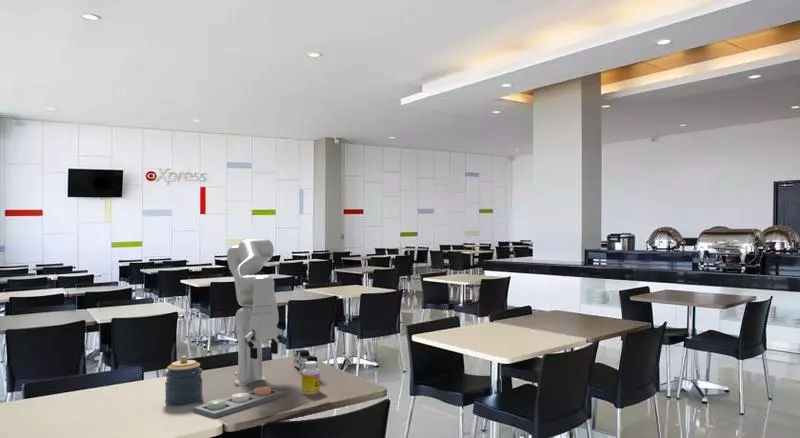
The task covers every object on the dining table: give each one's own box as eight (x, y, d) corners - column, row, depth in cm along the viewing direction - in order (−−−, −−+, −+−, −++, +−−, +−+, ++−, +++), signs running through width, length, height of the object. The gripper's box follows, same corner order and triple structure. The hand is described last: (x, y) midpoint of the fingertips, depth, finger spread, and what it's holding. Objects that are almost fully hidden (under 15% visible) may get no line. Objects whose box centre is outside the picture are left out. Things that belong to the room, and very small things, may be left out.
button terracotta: (251, 397, 207) (251, 389, 207) (264, 393, 212) (263, 385, 212) (261, 400, 204) (261, 391, 204) (274, 396, 209) (274, 388, 209)
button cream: (228, 404, 199) (228, 395, 199) (242, 400, 204) (242, 391, 204) (238, 407, 196) (238, 398, 196) (252, 402, 201) (252, 394, 201)
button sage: (203, 411, 191) (203, 402, 191) (218, 407, 196) (218, 398, 196) (214, 414, 188) (214, 405, 188) (229, 410, 193) (229, 401, 193)
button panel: (214, 422, 184) (214, 413, 184) (193, 416, 192) (193, 407, 192) (284, 400, 208) (284, 392, 208) (263, 395, 216) (262, 387, 216)
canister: (210, 400, 209) (210, 353, 210) (186, 411, 197) (186, 361, 198) (182, 398, 214) (181, 351, 214) (157, 408, 201) (156, 359, 202)
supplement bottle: (316, 399, 209) (315, 364, 209) (299, 398, 210) (299, 364, 210) (322, 394, 215) (321, 360, 216) (306, 393, 217) (305, 360, 217)
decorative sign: (318, 376, 235) (316, 351, 236) (308, 377, 233) (307, 352, 235) (302, 370, 264) (301, 348, 266) (293, 371, 262) (292, 349, 264)
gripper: (274, 306, 218) (275, 350, 218) (238, 312, 204) (238, 359, 204) (288, 307, 214) (288, 352, 213) (251, 313, 200) (252, 361, 199)
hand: (264, 356), depth 208 cm, fingers open, 9 cm apart
